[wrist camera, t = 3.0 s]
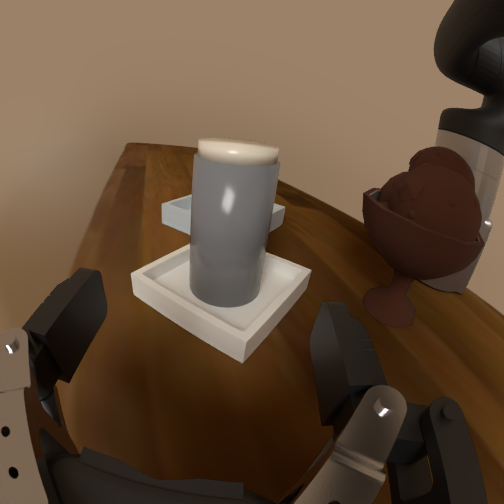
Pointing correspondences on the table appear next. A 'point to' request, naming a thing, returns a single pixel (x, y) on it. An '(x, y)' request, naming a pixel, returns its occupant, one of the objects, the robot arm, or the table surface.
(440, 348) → the table surface
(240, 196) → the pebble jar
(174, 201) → the glazed dish
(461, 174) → the ice cream bowl
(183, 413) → the table surface
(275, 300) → the tray
